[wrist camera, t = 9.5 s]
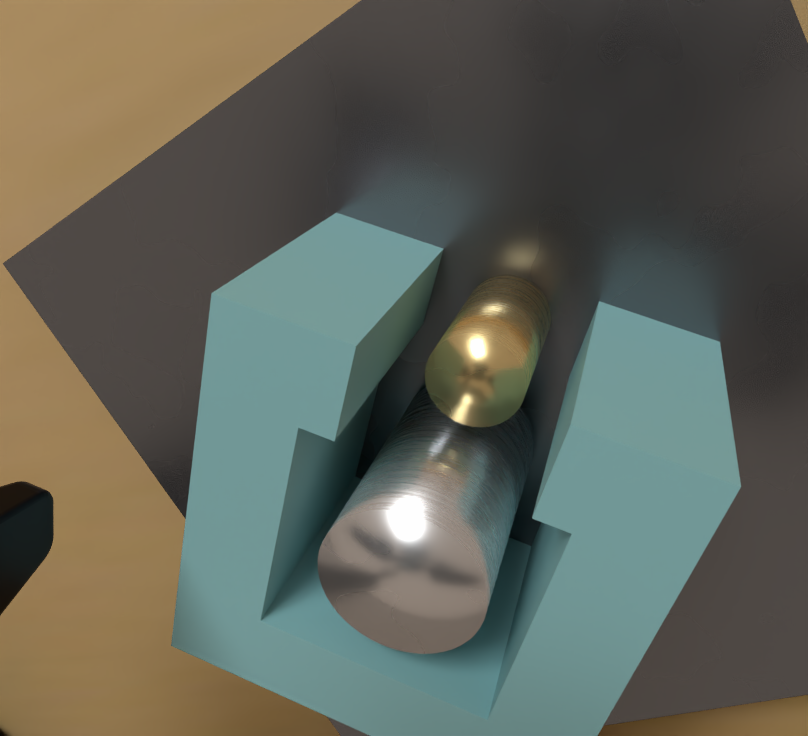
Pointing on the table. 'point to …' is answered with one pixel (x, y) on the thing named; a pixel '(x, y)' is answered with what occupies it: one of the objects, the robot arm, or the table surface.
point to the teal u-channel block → (521, 564)
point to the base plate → (494, 290)
